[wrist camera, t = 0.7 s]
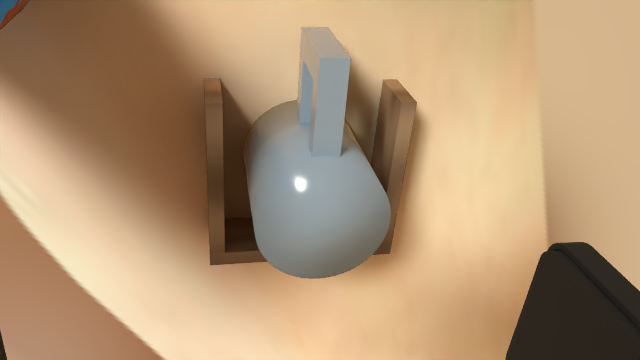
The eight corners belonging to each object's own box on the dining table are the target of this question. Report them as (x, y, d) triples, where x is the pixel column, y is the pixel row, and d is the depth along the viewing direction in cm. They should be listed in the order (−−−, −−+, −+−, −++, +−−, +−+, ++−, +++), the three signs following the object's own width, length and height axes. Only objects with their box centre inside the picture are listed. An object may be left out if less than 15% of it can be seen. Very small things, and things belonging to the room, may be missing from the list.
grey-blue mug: (243, 14, 33) (257, 63, 26) (369, 18, 35) (417, 65, 27) (242, 201, 40) (253, 283, 33) (347, 196, 42) (381, 273, 34)
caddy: (203, 78, 35) (205, 103, 31) (397, 79, 37) (416, 102, 34) (209, 230, 41) (210, 265, 37) (374, 222, 43) (389, 253, 40)
